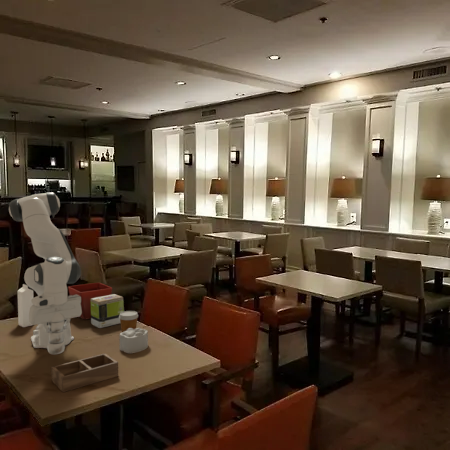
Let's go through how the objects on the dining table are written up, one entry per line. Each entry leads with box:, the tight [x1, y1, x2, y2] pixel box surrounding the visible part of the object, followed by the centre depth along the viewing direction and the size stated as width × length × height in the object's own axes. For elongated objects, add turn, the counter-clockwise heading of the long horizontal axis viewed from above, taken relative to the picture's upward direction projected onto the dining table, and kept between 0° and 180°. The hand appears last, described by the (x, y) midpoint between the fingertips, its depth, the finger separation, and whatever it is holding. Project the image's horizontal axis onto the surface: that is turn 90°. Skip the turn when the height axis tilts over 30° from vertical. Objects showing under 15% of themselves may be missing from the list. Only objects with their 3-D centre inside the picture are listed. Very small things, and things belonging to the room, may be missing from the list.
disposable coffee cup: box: [119, 310, 139, 333], centre depth 219 cm, size 10×10×12 cm
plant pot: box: [67, 282, 113, 320], centre depth 254 cm, size 19×19×17 cm
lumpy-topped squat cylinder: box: [119, 327, 149, 354], centre depth 205 cm, size 10×13×9 cm
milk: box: [17, 283, 34, 328], centre depth 235 cm, size 6×6×22 cm
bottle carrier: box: [51, 353, 119, 393], centre depth 172 cm, size 12×22×6 cm, turn 131°
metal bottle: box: [46, 307, 66, 355], centre depth 177 cm, size 6×7×20 cm
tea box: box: [90, 293, 125, 329], centre depth 239 cm, size 15×10×15 cm, turn 133°
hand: (56, 330), depth 178 cm, fingers closed on metal bottle, 6 cm apart
